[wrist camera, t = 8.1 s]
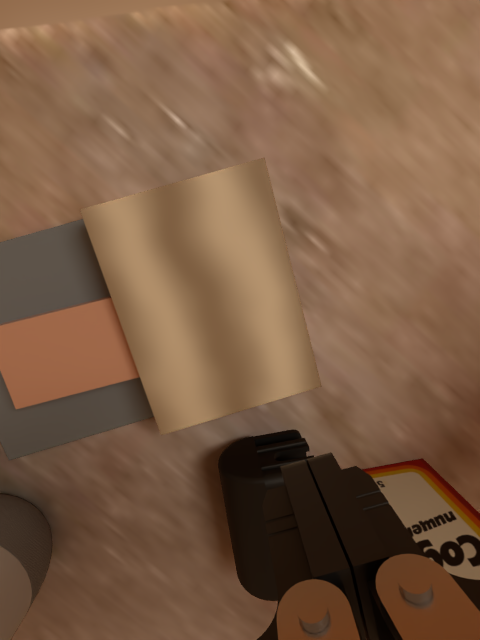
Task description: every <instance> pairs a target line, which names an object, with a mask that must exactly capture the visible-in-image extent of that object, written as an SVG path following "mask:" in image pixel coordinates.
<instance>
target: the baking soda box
mask: <svg viewBox="0 0 480 640" xmlns="http://www.w3.org/2000/svg"><path fill="white" fill-rule="evenodd" d="M362 470H363V471H364V472H366V473H368V474H369V475H371V476H372V478H373V479H374V481H375V482H376V484H377V485H378V487H379V488H380V490H381V493H383V494H384V496H385V497H386V499H387V500H388V502H389V505H391V506H392V508H393V509H394V511H395V512H396V514H397V515H398V517H399V518H400V520H401V521H402V523H403V524H404V526H405V527H406V529H407V530H408V532H409V533H410V535H411V536H412V538H413V539H414V541H415V542H416V543H417V545H418V546H419V548H420V549H421V551H422V552H423V554H424V555H425V556H426V557H427V558H429V559H431V560H433V561H435V562H436V563H438V564H439V565H441V566H442V567H443V568H444V569H445V570H446V571H447V572H448V573H450V574H453V575H456V576H459V577H463V578H467V579H475V580H480V513H479V512H478V511H477V510H475V509H474V508H473V507H472V506H471V505H470V504H469V503H468V502H467V501H466V500H465V499H464V498H463V497H462V496H461V495H460V494H459V493H458V492H457V491H456V490H455V489H454V488H453V487H452V486H451V485H450V484H449V483H447V482H446V481H445V480H444V479H443V478H442V477H441V476H440V475H439V474H438V473H437V472H436V471H435V470H434V469H433V468H432V467H431V466H430V465H429V464H428V463H427V462H426V461H425V460H424V459H417V460H412V461H406V462H401V463H395V464H390V465H384V466H379V467H373V468H368V469H362Z"/></svg>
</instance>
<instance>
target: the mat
mask: <svg viewBox="0 0 480 640" xmlns="http://www.w3.org/2000/svg"><path fill="white" fill-rule="evenodd" d="M108 296H111V295H110V292H109V290H108V287H107V284H106V281H105V278H104V276H103V273H102V270H101V267H100V265H99V262H98V259H97V256H96V253H95V251H94V248H93V245H92V242H91V240H90V237H89V234H88V231H87V228H86V226H85V223H84V220H83V219H82V220H78V221H74V222H71V223H67V224H64V225H60V226H57V227H53V228H50V229H46V230H43V231H39V232H36V233H32V234H28V235H25V236H21V237H18V238H14V239H11V240H7V241H4V242H0V324H1V323H5V322H9V321H13V320H17V319H21V318H25V317H28V316H32V315H36V314H40V313H44V312H48V311H52V310H56V309H60V308H64V307H68V306H72V305H76V304H80V303H84V302H88V301H92V300H96V299H100V298H104V297H108ZM151 417H154V415H153V412H152V409H151V406H150V403H149V401H148V398H147V395H146V392H145V390H144V387H143V384H142V381H141V378H140V377H138V378H134V379H130V380H127V381H123V382H119V383H115V384H111V385H108V386H104V387H100V388H96V389H92V390H88V391H85V392H81V393H77V394H73V395H69V396H66V397H62V398H58V399H54V400H50V401H46V402H43V403H39V404H35V405H31V406H27V407H24V408H20V409H16V408H15V406H14V403H13V401H12V398H11V396H10V393H9V391H8V388H7V386H6V383H5V381H4V378H3V376H2V373H1V371H0V442H1V444H2V446H3V449H4V451H5V453H6V455H7V457H8V459H9V460H12V459H16V458H19V457H22V456H26V455H29V454H32V453H35V452H39V451H42V450H45V449H49V448H52V447H55V446H59V445H62V444H65V443H68V442H72V441H75V440H78V439H82V438H85V437H88V436H91V435H95V434H98V433H101V432H105V431H108V430H111V429H115V428H118V427H121V426H124V425H128V424H131V423H134V422H138V421H141V420H144V419H148V418H151Z"/></svg>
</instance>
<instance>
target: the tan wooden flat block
mask: <svg viewBox="0 0 480 640" xmlns="http://www.w3.org/2000/svg"><path fill="white" fill-rule="evenodd" d="M80 212H81V215H82V217H83V220H84V223H85V226H86V228H87V231H88V234H89V237H90V240H91V242H92V245H93V248H94V251H95V253H96V256H97V259H98V262H99V265H100V267H101V270H102V273H103V276H104V278H105V281H106V284H107V287H108V290H109V292H110V295H111V298H112V301H113V303H114V306H115V309H116V312H117V315H118V317H119V320H120V323H121V326H122V328H123V331H124V334H125V337H126V340H127V342H128V345H129V348H130V351H131V353H132V356H133V359H134V362H135V365H136V367H137V370H138V373H139V376H140V378H141V381H142V384H143V387H144V390H145V392H146V395H147V398H148V401H149V403H150V406H151V409H152V412H153V415H154V417H155V420H156V423H157V426H158V428H159V431H160V434H161V435H164V434H167V433H170V432H174V431H177V430H180V429H183V428H187V427H190V426H193V425H197V424H200V423H203V422H206V421H210V420H213V419H216V418H220V417H223V416H226V415H229V414H233V413H236V412H239V411H242V410H246V409H249V408H252V407H256V406H259V405H262V404H265V403H269V402H272V401H275V400H279V399H282V398H285V397H288V396H292V395H295V394H298V393H301V392H305V391H308V390H311V389H315V388H318V387H321V382H320V378H319V374H318V370H317V366H316V362H315V358H314V354H313V350H312V346H311V342H310V338H309V334H308V330H307V326H306V322H305V318H304V314H303V310H302V306H301V302H300V298H299V294H298V290H297V286H296V282H295V278H294V274H293V270H292V266H291V262H290V258H289V254H288V250H287V246H286V242H285V238H284V234H283V230H282V226H281V222H280V218H279V214H278V210H277V206H276V202H275V198H274V194H273V190H272V186H271V182H270V178H269V174H268V170H267V166H266V162H265V158H261V159H258V160H254V161H251V162H247V163H244V164H240V165H237V166H233V167H229V168H226V169H222V170H219V171H215V172H212V173H208V174H205V175H201V176H198V177H194V178H190V179H187V180H183V181H180V182H176V183H173V184H169V185H166V186H162V187H158V188H155V189H151V190H148V191H144V192H141V193H137V194H134V195H130V196H126V197H123V198H119V199H116V200H112V201H109V202H105V203H102V204H98V205H94V206H91V207H87V208H84V209H80Z"/></svg>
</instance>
